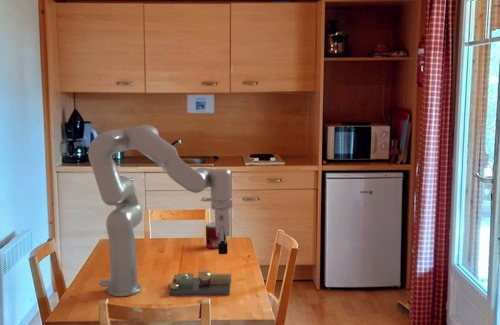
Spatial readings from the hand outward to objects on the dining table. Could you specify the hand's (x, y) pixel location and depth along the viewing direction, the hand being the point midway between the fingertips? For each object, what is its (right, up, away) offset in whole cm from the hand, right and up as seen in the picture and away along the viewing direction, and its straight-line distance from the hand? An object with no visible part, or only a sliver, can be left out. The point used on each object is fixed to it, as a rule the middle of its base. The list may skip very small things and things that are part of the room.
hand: (223, 253), depth 204 cm
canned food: (-7, -7, +63) cm, 63 cm away
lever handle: (-4, -12, +9) cm, 16 cm away
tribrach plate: (-9, -15, +9) cm, 20 cm away
